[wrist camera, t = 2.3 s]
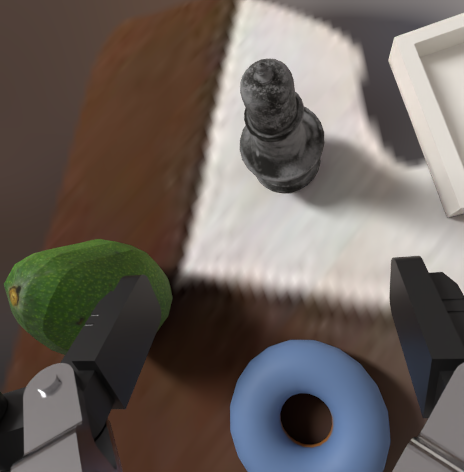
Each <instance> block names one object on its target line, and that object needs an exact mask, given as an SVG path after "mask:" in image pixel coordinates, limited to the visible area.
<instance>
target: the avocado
mask: <svg viewBox="0 0 464 472" xmlns="http://www.w3.org/2000/svg"><path fill="white" fill-rule="evenodd" d="M131 275H146V276H147V277H148V279H149V281H150V284H151V286H152V288H153V291H154V293H155V295H156V297H157V300H158V302H159V304H160V308H161V321H160V325H159V327H158V330H159V328H160V327H161V326H162V324H163V323H164V321H165V320H166V318H167V317H168V315H169V311H170V307H171V303H172V299H173V297H172V292H171V288H170V284H169V280H168V278H167V276H166V275H165V273H164V272H163V271H162V269H161V268H160V267H159V266H158V265H157V264H156V262H155V261H154V260H153V259H152V258H151V257H150V256H149V255H148V254H147V253H146V252H144V251H142V250H140V249H137V248H135V247H133V246H131V245H127V244H123V243H119V242H114V241H108V240H101V239H96V240H91V241H87V242H83V243H78V244H74V245H69V246H64V247H59V248H54V249H50V250H46V251H42V252H38V253H34V254H32V255H30V256H28V257H26V258H25V259H23V260H21V261H20V262H18V263H16V264H15V265H14V267H13V269H12V270H11V272H10V274H9V276H8V278H7V280H6V282H5V283H4V286H5V290H6V293H7V297H8V300H9V304H10V307H11V311H12V313H13V315H14V317H15V318H16V320H17V321H18V323H19V324H20V325H21V326H22V327H23V328H24V329H25V330H26V331H27V332H28V333H29V334H30V335H32V336H33V337H34V338H35V339H36V340H38V341H39V342H41V343H42V344H44V345H45V346H47V347H48V348H50V349H51V350H53V351H56V352H59V353H61V354H64V355H66V353H67V352H68V350H69V348H70V347H71V345H72V344H73V342H74V340H75V339H76V337H77V336H78V334H79V332H80V331H81V329H82V328H83V326H85V323H86V321H87V320H88V318H89V316H91V313H92V312H93V310H94V308H95V307H96V305H97V304H98V302H99V301H100V300H101V299H102V298H103V297H105V296H106V295H107V294H108V293H109V292H110V291H114V289H115V287H116V286H117V284H118V282H119V281H120V279H121V278H122V277H123V276H131ZM158 330H157V331H158Z"/></svg>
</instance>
